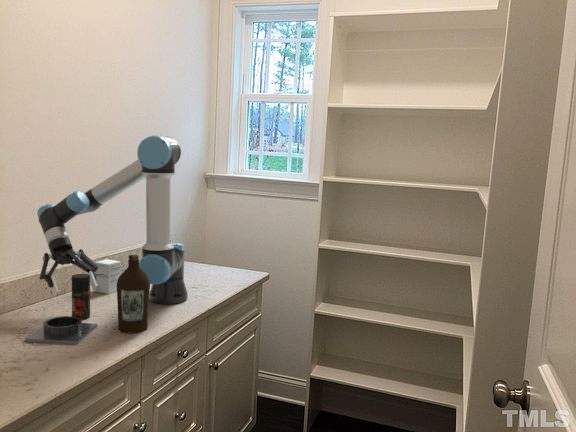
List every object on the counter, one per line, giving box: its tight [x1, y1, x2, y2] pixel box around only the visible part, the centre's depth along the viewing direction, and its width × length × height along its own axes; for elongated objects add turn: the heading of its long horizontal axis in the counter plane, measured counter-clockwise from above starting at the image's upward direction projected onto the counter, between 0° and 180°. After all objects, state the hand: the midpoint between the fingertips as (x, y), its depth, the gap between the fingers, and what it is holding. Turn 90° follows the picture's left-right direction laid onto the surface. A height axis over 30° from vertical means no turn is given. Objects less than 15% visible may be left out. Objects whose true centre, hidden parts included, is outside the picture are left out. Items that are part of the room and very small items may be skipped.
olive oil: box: [116, 254, 151, 334], centre depth 169 cm, size 11×11×25 cm
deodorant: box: [71, 273, 91, 321], centre depth 178 cm, size 6×6×15 cm
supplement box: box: [94, 258, 122, 295], centre depth 211 cm, size 7×7×13 cm
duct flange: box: [24, 315, 98, 346], centre depth 163 cm, size 16×16×4 cm
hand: (76, 291), depth 178 cm, fingers open, 13 cm apart
